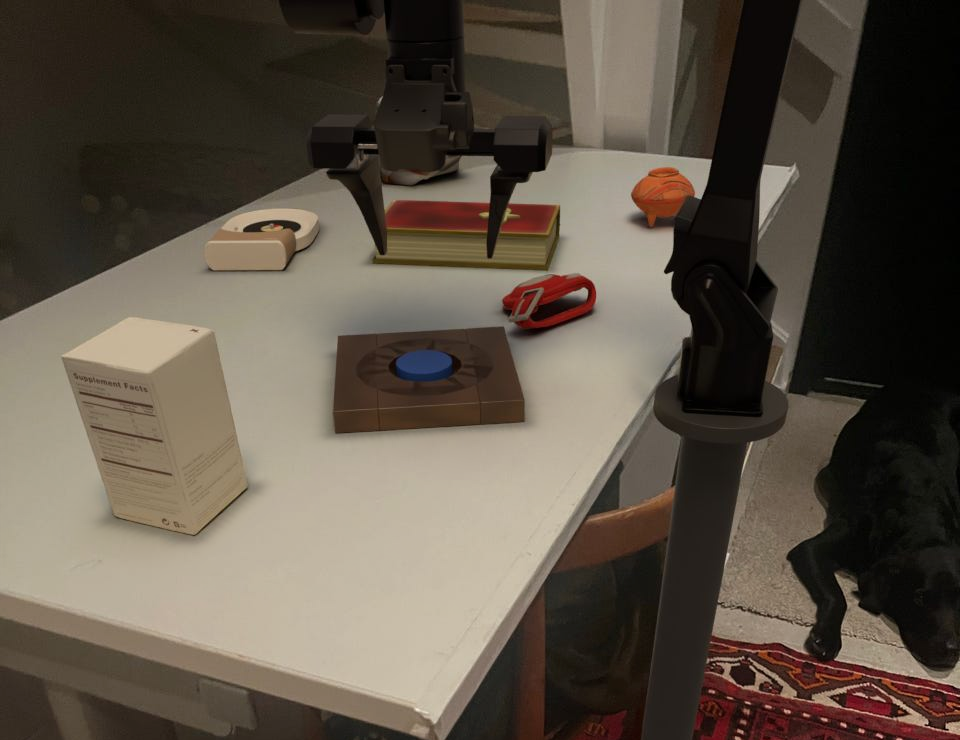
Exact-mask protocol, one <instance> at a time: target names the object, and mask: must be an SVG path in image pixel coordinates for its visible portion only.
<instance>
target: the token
mask: <svg viewBox="0 0 960 740" xmlns="http://www.w3.org/2000/svg"><path fill="white" fill-rule="evenodd" d="M396 368H397V378H400V379H403V380H408V381H416V382H426V381H437V380H441V379H445V378H448V377H450V376H452V375H453V373H452V359H451V357H450V356H448V355H447V354H445V353H442V352H439V351H432V350H421V351H414V352H410V353H407V354H404V355H402V356H401V357H399V358H398V360H397V362H396Z"/></svg>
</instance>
